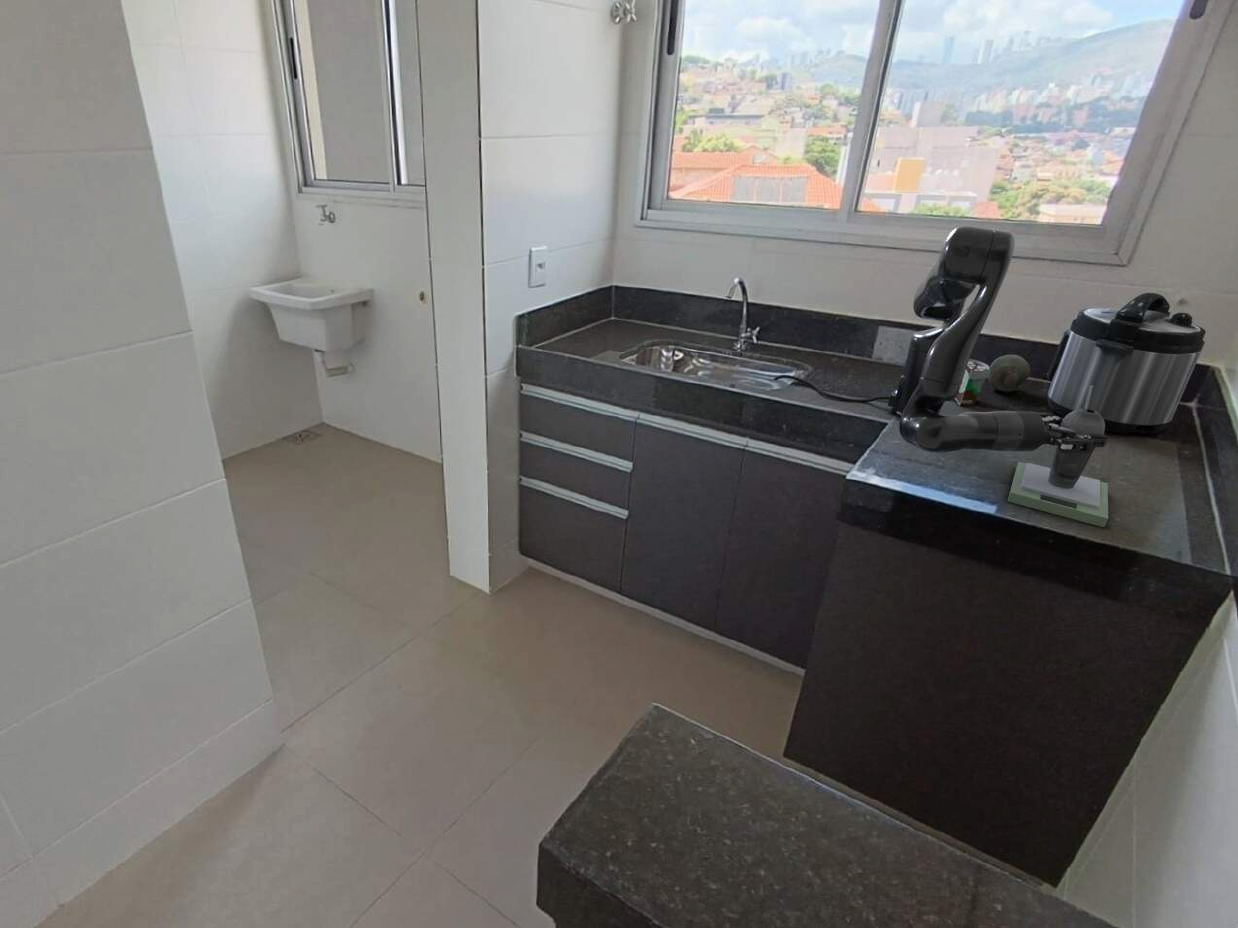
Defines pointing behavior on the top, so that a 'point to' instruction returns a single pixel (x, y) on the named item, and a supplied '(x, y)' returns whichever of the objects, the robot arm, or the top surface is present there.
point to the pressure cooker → (1126, 364)
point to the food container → (972, 382)
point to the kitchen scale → (1060, 495)
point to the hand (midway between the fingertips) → (1090, 432)
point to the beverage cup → (1073, 464)
